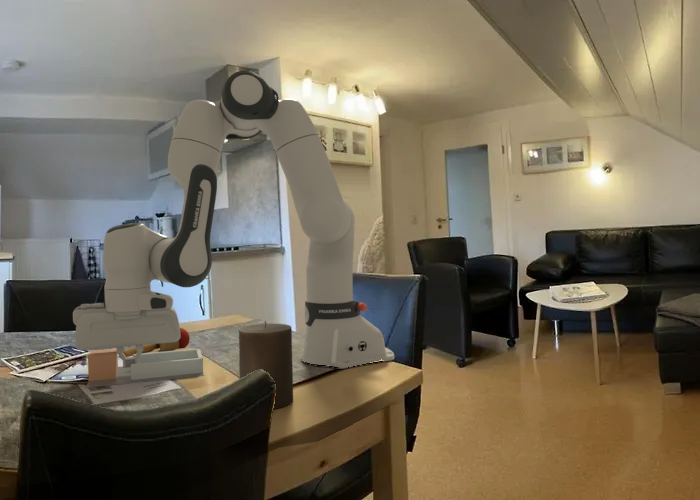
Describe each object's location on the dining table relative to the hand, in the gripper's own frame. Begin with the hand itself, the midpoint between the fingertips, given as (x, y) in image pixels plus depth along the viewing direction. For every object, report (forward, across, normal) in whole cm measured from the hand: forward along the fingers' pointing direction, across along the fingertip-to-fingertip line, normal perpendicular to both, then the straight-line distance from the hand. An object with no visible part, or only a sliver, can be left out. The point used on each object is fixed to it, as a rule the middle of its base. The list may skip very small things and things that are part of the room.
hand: (130, 366), depth 108 cm
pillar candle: (+4, +24, -23) cm, 33 cm away
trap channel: (+3, +3, 0) cm, 4 cm away
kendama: (+3, +5, +22) cm, 23 cm away
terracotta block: (+2, -5, 0) cm, 5 cm away
